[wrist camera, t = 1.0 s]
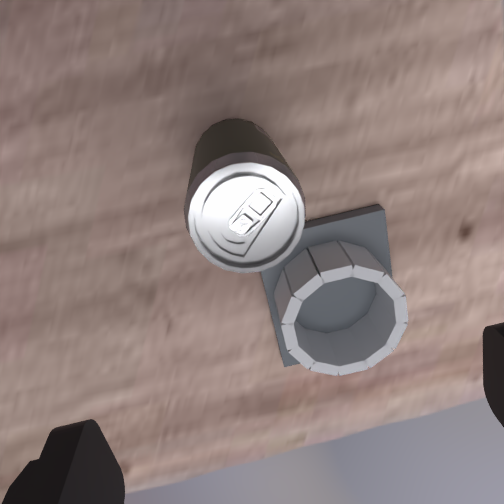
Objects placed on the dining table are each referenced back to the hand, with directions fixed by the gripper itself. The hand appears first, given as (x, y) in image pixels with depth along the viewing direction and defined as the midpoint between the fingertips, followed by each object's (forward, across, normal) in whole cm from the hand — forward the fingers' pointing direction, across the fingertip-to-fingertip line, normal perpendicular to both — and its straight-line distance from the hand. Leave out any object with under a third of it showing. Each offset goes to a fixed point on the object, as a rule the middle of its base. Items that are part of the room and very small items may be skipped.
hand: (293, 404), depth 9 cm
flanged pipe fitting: (+22, -4, +11) cm, 26 cm away
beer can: (+23, 0, 0) cm, 23 cm away
